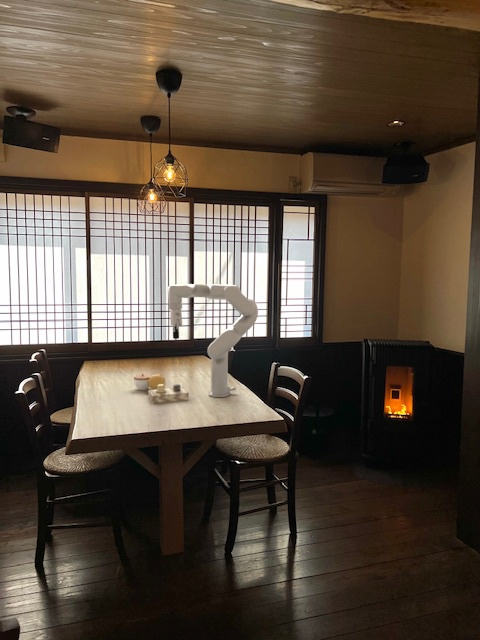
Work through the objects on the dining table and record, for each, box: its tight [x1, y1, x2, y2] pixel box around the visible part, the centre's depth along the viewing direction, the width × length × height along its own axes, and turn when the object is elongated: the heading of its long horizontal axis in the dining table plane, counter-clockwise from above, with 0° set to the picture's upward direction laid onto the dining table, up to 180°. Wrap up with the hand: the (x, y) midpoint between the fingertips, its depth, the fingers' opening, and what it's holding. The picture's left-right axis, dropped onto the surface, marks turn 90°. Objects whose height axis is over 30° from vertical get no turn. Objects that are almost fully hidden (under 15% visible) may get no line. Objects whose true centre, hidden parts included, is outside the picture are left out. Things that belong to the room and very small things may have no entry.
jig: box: [147, 383, 190, 404], centre depth 262 cm, size 20×13×7 cm, turn 110°
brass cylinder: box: [157, 384, 166, 394], centre depth 261 cm, size 4×4×8 cm
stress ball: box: [148, 373, 166, 390], centre depth 278 cm, size 10×10×10 cm
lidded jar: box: [133, 372, 152, 391], centre depth 283 cm, size 11×11×9 cm
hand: (176, 338), depth 270 cm, fingers closed
